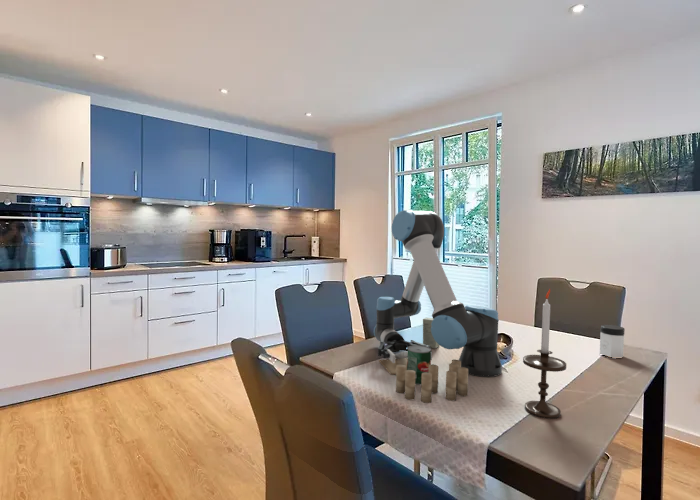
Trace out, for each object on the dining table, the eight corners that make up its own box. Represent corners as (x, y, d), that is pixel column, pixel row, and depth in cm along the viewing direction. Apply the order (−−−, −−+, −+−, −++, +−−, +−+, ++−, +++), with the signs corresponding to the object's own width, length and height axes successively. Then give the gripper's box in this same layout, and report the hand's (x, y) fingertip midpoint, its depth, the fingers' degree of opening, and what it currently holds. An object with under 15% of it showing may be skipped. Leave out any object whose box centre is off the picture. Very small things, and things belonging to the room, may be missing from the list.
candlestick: (571, 413, 108) (577, 289, 106) (551, 424, 101) (557, 292, 100) (534, 399, 116) (538, 284, 115) (513, 408, 110) (518, 287, 108)
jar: (593, 353, 162) (595, 325, 161) (606, 351, 165) (608, 323, 164) (615, 360, 153) (617, 330, 153) (628, 357, 157) (630, 328, 156)
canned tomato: (409, 374, 135) (410, 343, 134) (432, 378, 132) (433, 346, 131) (404, 382, 128) (404, 350, 127) (427, 386, 125) (428, 353, 124)
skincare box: (439, 346, 169) (440, 318, 168) (436, 348, 165) (436, 320, 164) (425, 343, 172) (426, 316, 171) (422, 346, 168) (422, 318, 168)
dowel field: (460, 383, 128) (461, 359, 127) (473, 404, 112) (474, 377, 112) (393, 381, 129) (394, 358, 128) (398, 402, 113) (398, 375, 113)
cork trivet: (412, 359, 151) (413, 357, 151) (428, 371, 138) (428, 370, 138) (378, 361, 148) (378, 359, 148) (390, 374, 135) (391, 373, 135)
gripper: (421, 348, 157) (445, 366, 137) (362, 351, 152) (378, 370, 131) (421, 329, 157) (445, 345, 136) (362, 332, 151) (378, 349, 131)
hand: (412, 357), depth 134 cm, fingers open, 13 cm apart
